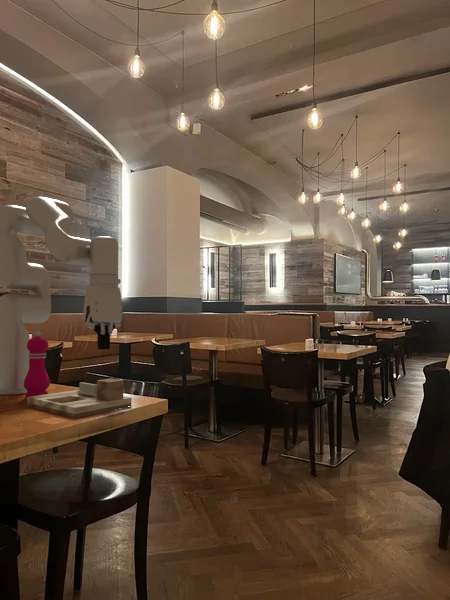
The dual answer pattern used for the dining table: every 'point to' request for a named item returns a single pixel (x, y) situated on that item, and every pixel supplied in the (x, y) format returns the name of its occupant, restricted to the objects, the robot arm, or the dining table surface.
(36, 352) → the pepper mill
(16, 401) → the dining table surface
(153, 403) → the dining table surface
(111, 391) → the walnut cube
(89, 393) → the lid
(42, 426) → the dining table surface
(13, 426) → the dining table surface
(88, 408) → the board
